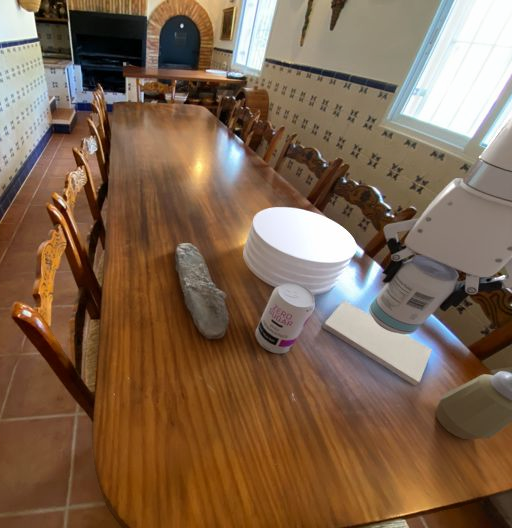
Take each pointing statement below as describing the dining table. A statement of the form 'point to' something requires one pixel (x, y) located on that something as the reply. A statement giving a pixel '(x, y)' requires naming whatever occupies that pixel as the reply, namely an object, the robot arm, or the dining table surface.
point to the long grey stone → (201, 293)
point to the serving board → (379, 342)
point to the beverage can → (413, 294)
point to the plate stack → (298, 248)
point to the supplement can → (284, 317)
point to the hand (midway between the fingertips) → (414, 291)
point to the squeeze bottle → (478, 407)
